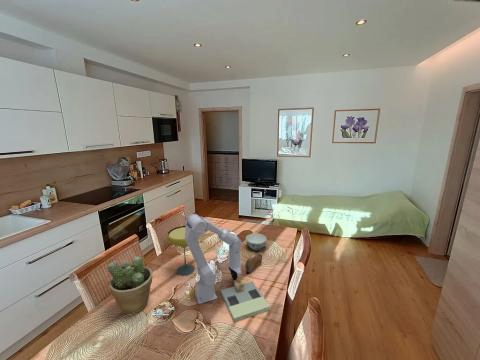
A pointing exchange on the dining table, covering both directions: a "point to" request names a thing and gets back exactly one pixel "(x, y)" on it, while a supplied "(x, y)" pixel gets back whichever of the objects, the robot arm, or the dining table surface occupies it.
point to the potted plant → (130, 285)
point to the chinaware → (256, 241)
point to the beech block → (239, 285)
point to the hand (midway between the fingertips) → (234, 279)
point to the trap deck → (244, 302)
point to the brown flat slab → (253, 262)
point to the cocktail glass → (178, 239)
